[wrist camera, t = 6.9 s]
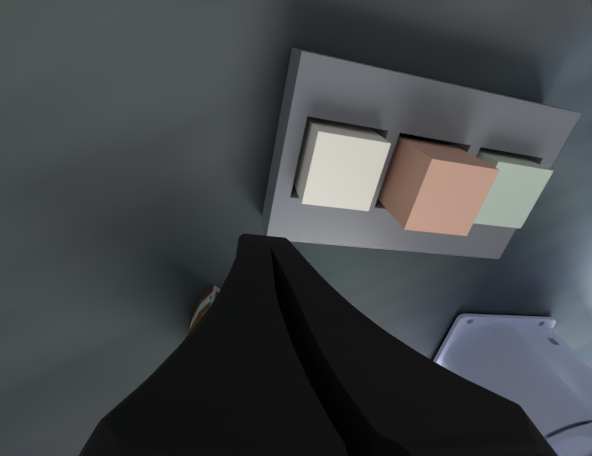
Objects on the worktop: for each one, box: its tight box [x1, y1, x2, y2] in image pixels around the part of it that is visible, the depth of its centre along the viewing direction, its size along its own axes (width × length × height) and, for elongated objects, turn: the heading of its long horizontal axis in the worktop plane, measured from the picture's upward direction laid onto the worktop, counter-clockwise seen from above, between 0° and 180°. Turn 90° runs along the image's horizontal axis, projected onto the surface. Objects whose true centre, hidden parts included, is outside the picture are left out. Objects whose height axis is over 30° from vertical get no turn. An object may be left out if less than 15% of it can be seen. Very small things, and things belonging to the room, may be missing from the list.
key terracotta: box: [377, 136, 499, 236], centre depth 17 cm, size 3×3×4 cm
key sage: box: [474, 147, 553, 229], centre depth 20 cm, size 3×3×4 cm
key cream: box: [293, 116, 391, 211], centre depth 18 cm, size 3×3×4 cm
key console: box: [262, 47, 581, 259], centre depth 19 cm, size 15×9×2 cm, turn 78°
